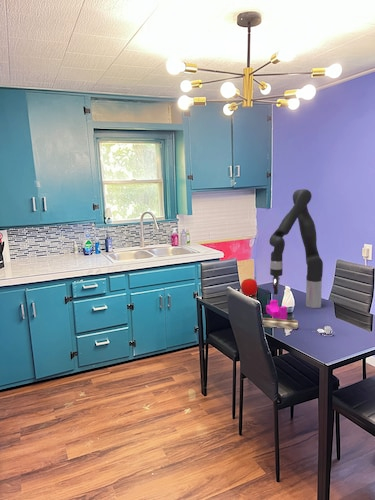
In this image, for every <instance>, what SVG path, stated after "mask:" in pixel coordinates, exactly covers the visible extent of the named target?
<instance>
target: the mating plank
mask: <svg viewBox="0 0 375 500" xmlns="http://www.w3.org/2000/svg"><path fill="white" fill-rule="evenodd" d="M262 318H263V324H264V327H265V328H272V327H277V328H276V329H283V328H289V329H288V330H293V329H297V328H299V321H298V320H295V319H294V320H293V319H279V318H273V317H272V318H271V317H270V318H269V317H262ZM264 327H263V328H264ZM297 330H298V329H297Z"/></svg>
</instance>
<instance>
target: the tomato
mask: <svg viewBox="0 0 375 500" xmlns="http://www.w3.org/2000/svg"><path fill="white" fill-rule="evenodd" d="M240 289H241V292H242V293H243V295H245V296H246V295H247V297H251V296H250V295H254V296H255V295H256V294H257V292H258V283H257V281H256V280H255V279H252V278H246V279H243V281H241V285H240ZM248 295H249V296H248Z"/></svg>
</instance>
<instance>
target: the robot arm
mask: <svg viewBox="0 0 375 500" xmlns="http://www.w3.org/2000/svg"><path fill="white" fill-rule="evenodd" d="M312 196H313V195H312V193H311V191H310V190H309V189H305V188H304V189H302V188H301V189H296V190H295V191H294V192H293V194H292V201H293V206H292V208H290V210H289V212H288V213H286V215H285V216H284V217H283V219H282V220H281V223H279V226H278V227H277V229H276V230H275V231H274V232H273V233H272V234H271V236H270V238H269V241H268V242H269V245H270V246H271V247H273V251H272V252H271V253H270V264H269V265H270V267H269V269H270V270H269V274H270V276H271V277H272V289H273V294H274V295H276V296H277V295H278V293H279V286H280V279H281V276H283V271H284V270H283V268H284V267H283V266H284V264H283V254H284V250H285V246H286V245H285V244H286V241H285V239H284V236H287V235H288V234H289V233H290V232H291V230H292V229H293V226H294V224H295V223H296V221H298V226H299V231H300V237H301V241H302V243H303V247H304V250H305V251H304V253H305V264H306V266H307V268H306V271H307V272H306V282H305V283H306V284H305V285H306V288H305V295H306V296H305V306H306V307H308V308H312V309H317V308H318V309H319V308H320V309H321V308H322V282H323V281H322V280H323V273H324V271H323V270H324V262H323V259H322V257H321V256H320V254H319V250H318V246H317V229H316V225H315V221H314V220H313V218H312V216H311V214H310V212H309V209H308V204H309V203H310V202H311V200H312Z"/></svg>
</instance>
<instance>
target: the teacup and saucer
mask: <svg viewBox="0 0 375 500" xmlns="http://www.w3.org/2000/svg"><path fill="white" fill-rule="evenodd" d="M316 331H317V332H318V334H319V333H322V334H325V333H326V334H325V335H327V334H329V335H330V334H332V332H333V329H332V328H331V326H328V325H325V326H324V329H323V328H318V329H317V330H316ZM330 331H331V333H330Z"/></svg>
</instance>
